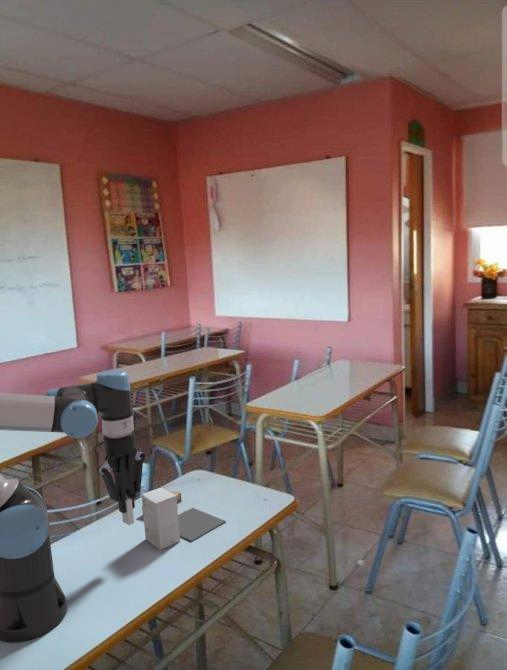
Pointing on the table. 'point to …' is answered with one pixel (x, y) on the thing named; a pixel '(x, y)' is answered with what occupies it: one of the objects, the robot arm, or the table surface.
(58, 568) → the table surface
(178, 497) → the board eraser
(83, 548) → the table surface
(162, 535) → the small box
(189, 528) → the mat
